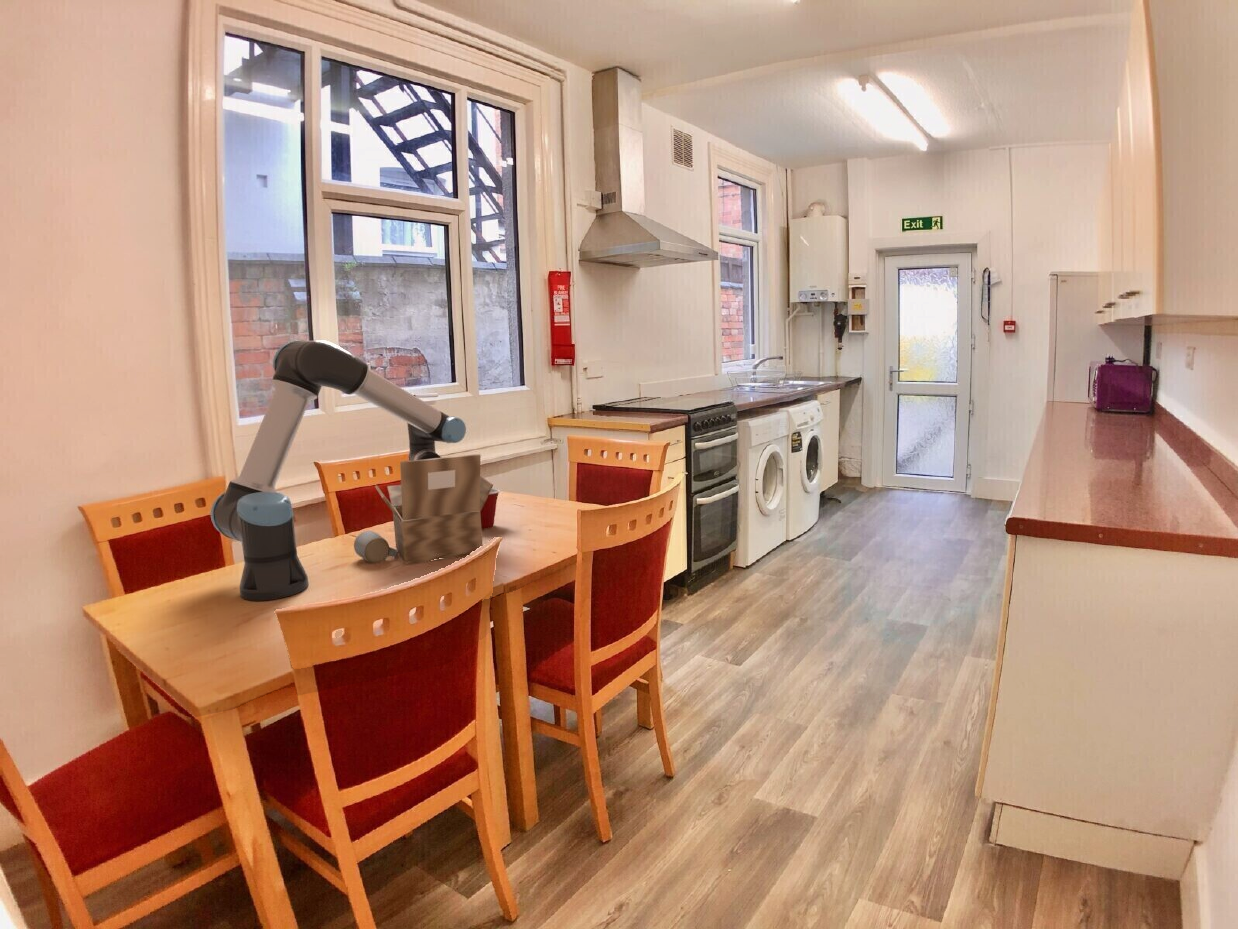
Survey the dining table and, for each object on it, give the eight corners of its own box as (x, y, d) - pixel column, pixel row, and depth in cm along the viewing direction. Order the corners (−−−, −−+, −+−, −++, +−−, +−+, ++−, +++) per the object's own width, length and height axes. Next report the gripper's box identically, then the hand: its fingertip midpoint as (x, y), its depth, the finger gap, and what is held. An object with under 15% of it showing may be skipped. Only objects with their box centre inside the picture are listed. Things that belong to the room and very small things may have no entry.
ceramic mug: (366, 567, 194) (363, 538, 193) (354, 560, 201) (352, 532, 199) (403, 558, 201) (402, 531, 200) (391, 552, 207) (389, 526, 206)
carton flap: (402, 519, 193) (402, 520, 192) (400, 461, 185) (400, 462, 184) (479, 509, 201) (479, 510, 200) (479, 453, 193) (480, 455, 192)
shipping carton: (388, 567, 193) (382, 497, 190) (377, 543, 216) (371, 480, 213) (498, 551, 205) (493, 484, 201) (476, 529, 228) (472, 469, 225)
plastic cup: (509, 524, 233) (507, 487, 231) (485, 532, 224) (483, 494, 222) (483, 520, 239) (481, 484, 236) (460, 528, 230) (457, 491, 228)
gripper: (452, 474, 217) (470, 488, 196) (406, 479, 212) (420, 494, 191) (450, 449, 216) (468, 461, 195) (404, 453, 211) (418, 466, 189)
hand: (444, 477), depth 193 cm, fingers closed
